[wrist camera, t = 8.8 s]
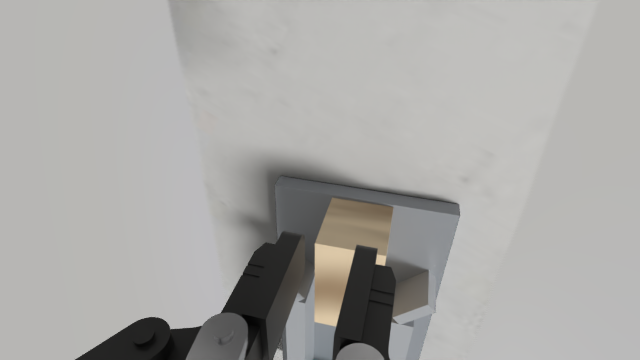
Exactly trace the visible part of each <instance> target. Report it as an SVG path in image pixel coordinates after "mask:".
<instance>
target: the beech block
mask: <svg viewBox="0 0 640 360" xmlns="http://www.w3.org/2000/svg"><path fill="white" fill-rule="evenodd" d="M393 208H394V207H390V206H384V205H377V204H371V203H364V202H358V201H351V200H345V199H338V198H332V199H331V202H330V204H329V207H328V210H327V212H326V215H325V218H324V220H323V223H322V226H321V228H320V231H319V234H318V236H317V239H316V242H315V313H314V322H317V323H322V324H327V325H331V326H336V325H337V321H338V317H339V313H340V309H341V305H342V301H343V297H344V293H345V289H346V285H347V281H348V277H349V273H350V269H351V265H352V261H353V257H354V253H355V249H356V245H362V246H367V247H373V248H378V252H377V259H376V264H378V265H383V266H385V263H386V256H387V249H388V242H389V235H390V228H391V221H392V215H393Z"/></svg>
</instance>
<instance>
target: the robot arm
mask: <svg viewBox="0 0 640 360" xmlns="http://www.w3.org/2000/svg"><path fill="white" fill-rule="evenodd" d="M377 252H378V248H373V247H367V246H362V245H356V249H355V253H354V257H353V261H352V265H351V269H350V273H349V277H348V281H347V285H346V289H345V293H344V297H343V301H342V305H341V309H340V313H339V317H338V321H337V325H336V329H335V333H334V342H333V356H332V360H390V358H389V353H388V351H389V340H390V331H391V322H392V313H393V304H394V295H395V287H396V278H395V276H394V273H393V271H392V268H391V267H388V266H383V265H378V264H376V259H377ZM304 268H305V236H304V234H298V233H293V232H288V231H283V232H282V233H281V235H280V237H279V239H278V241H277V243H276V245H275V244H270V243H265V244H264V245H262V246H261V247H260V248H259V249H257V250H256V251H255V252H254V254H253V256H252V257H251V259H250V261H249V263H248V266H246V268H245V270H244V272H243V275H242V276H241V277H240V279H239V281H238V283H237V285H236V286H235V288H234V290H233V292H232V294H231V296H230V297H229V299H228V301H227V303H226V305H225V307H224V308H223V310H222V312H221V313H220V314H217V315H215V316H213V317H211V318H210V319H208V320H207V321H206V322H205V323H204V324H203V326H199V327H194V328H183V329H170V327H169V325H168V324H167V322H166V321H164V320H163V319H160V318H155V317H149V318H144V319H141V320H138V321H136V322H134V323H133V324H131V325H130V326H128V327H126V328H125V329H123V330H121V331H120V332H118V333H117V334H115V335H114V336H112V337H110V338H109V339H107V340H106V341H104V342H102V343H101V344H99V345H98V346H96V347H95V348H93V349H92V350H90V351H88V352H87V353H85V354H84V355H82V356H80V357H79V358H77V359H76V360H273V358H274V355H275V352H276V350H277V347H278V344H279V342H280V339H281V336H282V334H283V331H284V328H285V325H286V323H287V320H288V317H289V315H290V312H291V309H292V307H293V304H294V301H295V299H296V296H297V293H298V291H299V288H300V285H301V282H302V279H303V275H304Z"/></svg>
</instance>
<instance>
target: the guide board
mask: <svg viewBox="0 0 640 360" xmlns="http://www.w3.org/2000/svg"><path fill="white" fill-rule="evenodd" d="M332 198H338V199H345V200H351V201H358V202H364V203H371V204H377V205H384V206H390V207H394V208H393V215H392V221H391V228H390V235H389V242H388V249H387V256H386V263H385V266H388V267H391V268H392V271H393V273H394V276H395V278H396V287H395V295H394V304H393V313H392V322H391V331H390V340H389V351H388V353H389V358H390V360H419V358H420V354H421V351H422V347H423V344H424V340H425V337H426V333H427V330H428V326H429V323H430V319H431V316H432V313H435V312H436V298H437V295H438V291H439V288H440V284H441V281H442V277H443V274H444V270H445V267H446V263H447V260H448V256H449V253H450V249H451V246H452V242H453V239H454V235H455V232H456V228H457V225H458V221H459V218H460V209H459V204H453V203H447V202H441V201H434V200H428V199H422V198H416V197H409V196H403V195H397V194H391V193H384V192H378V191H372V190H366V189H359V188H353V187H347V186H340V185H334V184H328V183H322V182H315V181H309V180H303V179H297V178H290V177H284V176H280V177H279V179H278V181H277V182H276V184H275V203H276V224H277V241H278V239H279V237H280V235H281V233H282V232H283V231H288V232H293V233H298V234H304V236H305V268H304V275H303V279H302V282H301V285H300V288H299V291H298V293H297V296H296V299H295V301H294V304H293V307H292V309H291V312H290V315H289V317H288V320H287V323H286V325H285V328H284V331H283V334H282V347H283V360H332V356H333V342H334V333H335V329H336V326H331V325H327V324H322V323H317V322H314V313H315V242H316V239H317V236H318V234H319V231H320V228H321V226H322V223H323V220H324V218H325V215H326V212H327V210H328V207H329V204H330V202H331V199H332Z"/></svg>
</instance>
